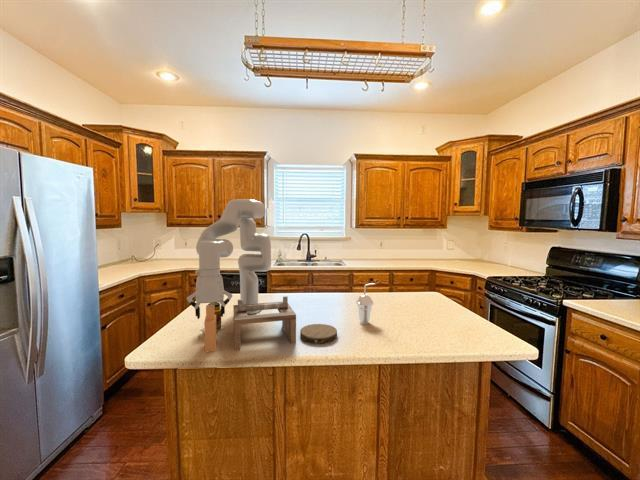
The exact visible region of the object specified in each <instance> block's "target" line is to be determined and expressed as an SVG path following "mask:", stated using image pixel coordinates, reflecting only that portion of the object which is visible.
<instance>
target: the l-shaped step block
mask: <svg viewBox="0 0 640 480" xmlns="http://www.w3.org/2000/svg"><path fill="white" fill-rule="evenodd" d="M203 323H204V328H205V331H204V352H205V353H207V351H209V352H215V351H214V350H216V351H217V341H218V337H217V335H218V334H217V333H218V332H217V331H216V315H215V305H208V304H207V305H206V306H205V317H204V322H203Z"/></svg>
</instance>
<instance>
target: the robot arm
mask: <svg viewBox="0 0 640 480" xmlns="http://www.w3.org/2000/svg"><path fill="white" fill-rule="evenodd" d="M265 214H266V207H265V204H264V203H263V202H262V201H259V200H255V199H249V198H247V199H245V198H242V199H238V198H237V199H231V200H229V201H228V202H227V203H226V206H225V208H224V210H223V212H222V213H221V216H220V219H219V220H217V221H215V222H214V223H212V224H210V225H209V226H208V227H206V228H205V229H204V230H203V231H202V232H201V234H200V236H199V238H198V240H197V242H196V247H195V249H196V253H197V255H198V269H197V270H196V269H195V270H194V274H195V275H196V274H197V275H198V276H196V283H195V292H193V293H191V294H190V295H189V296H187V297H186V300H187V302H188V303H189V304H190V306H192V307H193V308H194V309H195V310H194V311H195V317H196V318H197V320H199V319H200V318H201V307H200V305H201V304H209V303H214V302H218V303H220V309H221V318H223V317H224V315H225V314H226V311H225V310H226V309H225V308H226V305H228V303H229V302H230V301H231V299H232V298H233V294H232V293H231V292H229V291H227V290H225V289H224V280H223V279H224V278H223V276H222V275H221V273H220V272H221V266H220V265H221V263H220V262H221V261H220V259H221V258H228V257H230V256H231V255H232V253H233V251H234V245H233V243H232V242H231V240H229V239H225V238H223V239H222V238H220V237H223V236H225V235H229V234H232V233H235V232H236V231H237V230H238V228H239V238H240V239H239V241H240V242H239V244H240V248H241V250H242V251H244V252H258V253H243V254H241V255H239V257H238V260H237V263H238V265H237V266H238V270H239V281H240V283H239V284H240V285H239V289H240V290H239V291H240V293H239V295H240V296H239V297H240V298H239V299H242V300H243V305H244V304H257V303H259V278H258V275H257V274H256V272H263V273H264V272H268V271H270V270H271V266H272V245H271V242H272V241H271V238H270V236H269V235H268V234H266V233H257V223H256V221H255V220H254V219H262V218H263V217H264V216H265ZM218 238H219V239H218ZM259 252H260V253H259ZM225 296H226V297H227V298H226V299H225V298H224V297H225ZM193 298H195V301H196V302H195V301H194V300H193ZM224 299H225V300H224ZM260 312H262V310H257V311H247V315H256V314H258V313H260Z"/></svg>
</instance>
